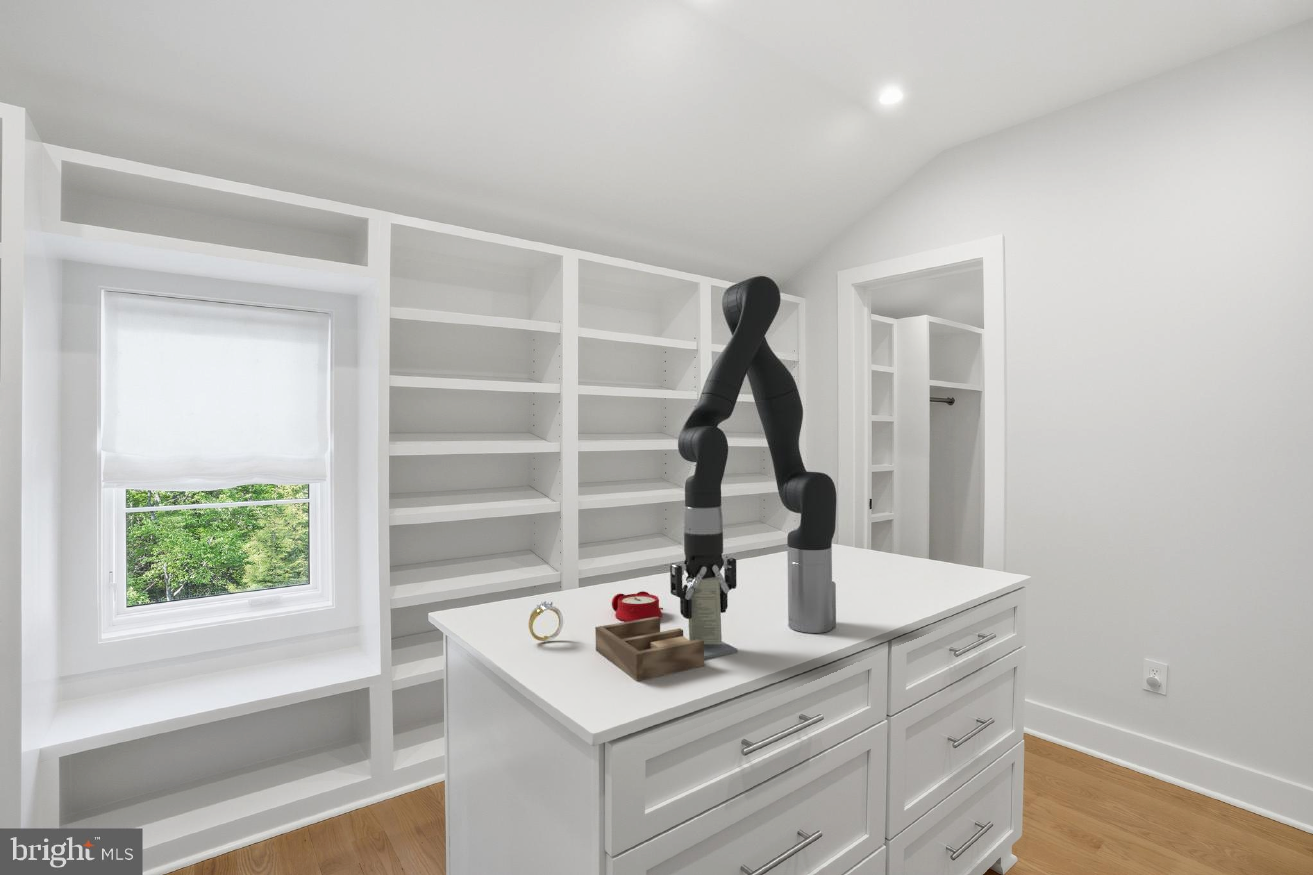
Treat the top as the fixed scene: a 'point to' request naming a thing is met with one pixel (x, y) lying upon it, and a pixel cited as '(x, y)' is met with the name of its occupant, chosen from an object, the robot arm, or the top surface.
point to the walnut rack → (647, 649)
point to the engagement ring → (537, 612)
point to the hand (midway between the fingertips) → (704, 614)
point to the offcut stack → (668, 642)
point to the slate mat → (717, 649)
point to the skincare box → (706, 611)
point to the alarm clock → (636, 606)
